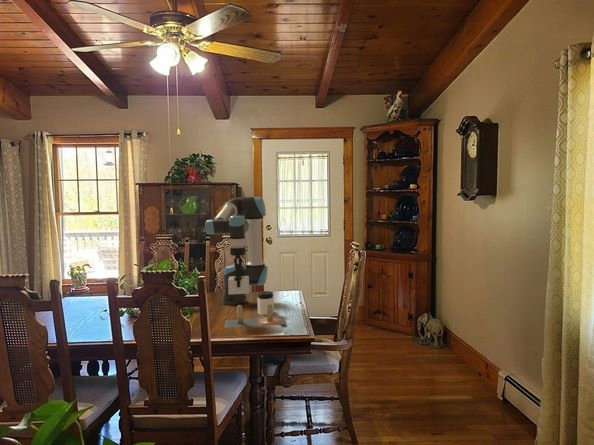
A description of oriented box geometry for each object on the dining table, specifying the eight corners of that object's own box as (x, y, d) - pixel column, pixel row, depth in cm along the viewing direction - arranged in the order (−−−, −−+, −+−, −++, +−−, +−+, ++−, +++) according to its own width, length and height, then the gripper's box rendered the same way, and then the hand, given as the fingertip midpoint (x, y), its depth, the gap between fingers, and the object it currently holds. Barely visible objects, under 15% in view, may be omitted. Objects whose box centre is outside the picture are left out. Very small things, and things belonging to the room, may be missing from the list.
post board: (224, 329, 204) (223, 309, 204) (225, 321, 218) (225, 302, 218) (286, 326, 208) (285, 306, 207) (283, 318, 222) (283, 299, 221)
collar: (228, 294, 206) (228, 280, 206) (229, 290, 216) (229, 276, 216) (249, 293, 207) (248, 279, 207) (249, 289, 217) (248, 275, 217)
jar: (276, 315, 229) (275, 293, 228) (262, 317, 225) (261, 295, 225) (269, 311, 237) (269, 290, 236) (256, 313, 233) (255, 292, 233)
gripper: (231, 245, 221) (232, 287, 222) (229, 249, 199) (230, 296, 200) (245, 244, 222) (246, 286, 223) (245, 249, 200) (246, 295, 201)
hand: (239, 291), depth 212 cm, fingers closed on collar, 10 cm apart
